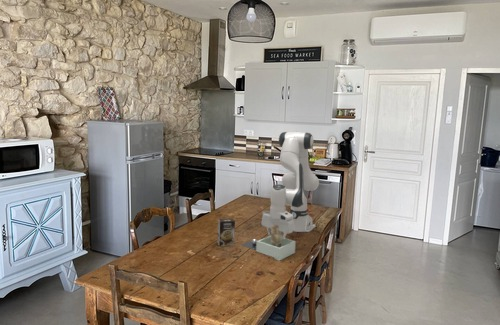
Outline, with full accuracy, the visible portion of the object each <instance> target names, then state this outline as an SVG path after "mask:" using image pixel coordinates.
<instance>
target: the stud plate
mask: <svg viewBox="0 0 500 325" xmlns="http://www.w3.org/2000/svg"><path fill="white" fill-rule="evenodd" d="M257 241H258V240H257V239H256V238H253V239H252V240H249V241H245V242H244V243H242V244H240V246H242V247H246V248H248V249H250V250H251V249H252V250H253V251H256V246H257Z"/></svg>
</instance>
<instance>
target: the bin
mask: <svg viewBox="0 0 500 325" xmlns="http://www.w3.org/2000/svg"><path fill="white" fill-rule="evenodd" d="M255 251H256V252H257V253H260V254H263V255H266V256H268V257H272V259H273V260H275V261H282V260H284V259H286V258H288V257H290V256H291V255H293V254H296V240H293V239H290V238H286V237H285V239H282V246H281V247H280V248H279V247H276V246H272V245H271V235H268V236H266V237H264V238H261V239H259V240H257V246H256V250H255Z"/></svg>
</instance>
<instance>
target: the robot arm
mask: <svg viewBox="0 0 500 325" xmlns="http://www.w3.org/2000/svg"><path fill="white" fill-rule="evenodd" d="M278 136H279V137H278V144H279V146H280V147H281V150H280V155H279V162H280V165H281V166H282V167H283V169H286V170H288V171H289V172H286V173H284V174H283V175H282V178H281V183H282V184H278V183H277V184H274V185H273V186H272V188H271V190H270V191H271V193H270V207H269V210H264V211H262V218H261V226H262V227H266V230H267V235H268V236H271V227H272V224H273V225H277V226H278V231H282V238H281V239H285V238H286V236H287V234H291V233H293V232H295V233H298V232H299V233H310V232H311V231H313V230H314V229H315V228H316V224H315V223H313V218H312V217H311V216H310V215H309V213H308V212H310V211H311V209H310V208H308V198H307V197H306V195H305V191H308V192H309V191H310V192H311V191H316V190H317V189H318V188H319V186H320V180H319V178H318V177H317V175H315V173H313V171H312V169H311V168H310V164H309V149H311V148H312V147H313V144H314V136H313V134H312V133H310V132H303V131H289V132H288V131H283V132H281V133H280V134H279V135H278ZM286 206H289V207H290V208H289V211H288V210H286V209H287V208H286Z"/></svg>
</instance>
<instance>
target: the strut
mask: <svg viewBox="0 0 500 325" xmlns="http://www.w3.org/2000/svg"><path fill="white" fill-rule="evenodd" d="M270 231H271V235H270V236H271V245H272V246H276V247H279V248H280V247H281V246H282V239H281V238H282V236H283V232H282V231H278V226H277V225H273V224H272V227H271V228H270Z"/></svg>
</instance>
